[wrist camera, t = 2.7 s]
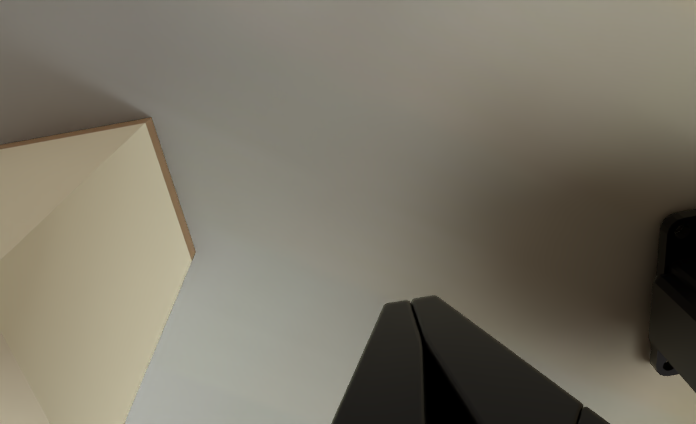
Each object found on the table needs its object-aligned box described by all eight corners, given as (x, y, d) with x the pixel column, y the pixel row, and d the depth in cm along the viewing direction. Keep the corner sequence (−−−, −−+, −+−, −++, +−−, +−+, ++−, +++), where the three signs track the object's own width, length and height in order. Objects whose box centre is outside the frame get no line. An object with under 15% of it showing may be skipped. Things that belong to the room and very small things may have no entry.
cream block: (151, 117, 16) (-26, 284, 8) (195, 251, 18) (91, 501, 10) (0, 145, 16) (-333, 338, 8) (60, 275, 18) (-158, 542, 10)
